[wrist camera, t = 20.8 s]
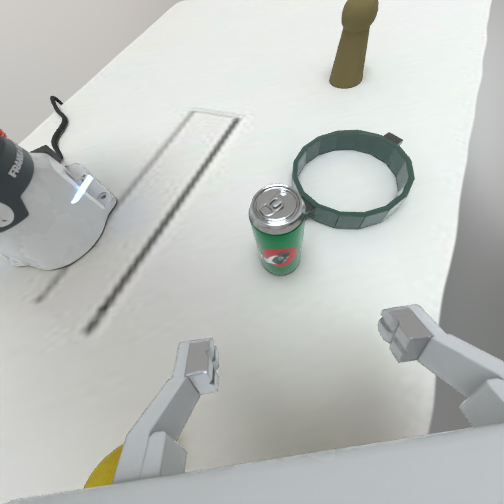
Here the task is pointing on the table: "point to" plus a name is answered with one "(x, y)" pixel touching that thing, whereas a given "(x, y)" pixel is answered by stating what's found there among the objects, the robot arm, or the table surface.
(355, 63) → the cork
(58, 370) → the table surface
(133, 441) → the robot arm
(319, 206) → the dark green tabbed ring
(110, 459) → the lemon
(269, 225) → the soda can
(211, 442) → the table surface
